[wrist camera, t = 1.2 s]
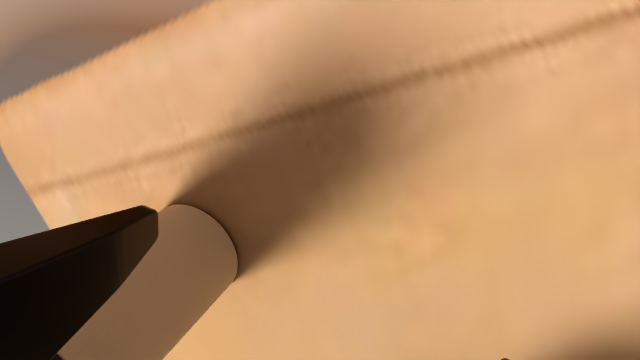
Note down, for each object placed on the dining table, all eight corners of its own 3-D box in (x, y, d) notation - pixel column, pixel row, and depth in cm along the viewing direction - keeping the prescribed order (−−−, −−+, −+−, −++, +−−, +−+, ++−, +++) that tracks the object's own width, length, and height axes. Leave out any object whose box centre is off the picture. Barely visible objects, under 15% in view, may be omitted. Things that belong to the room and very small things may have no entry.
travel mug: (182, 182, 29) (-147, 378, 14) (258, 257, 30) (14, 531, 14) (143, 238, 34) (-144, 436, 18) (210, 303, 34) (-19, 553, 18)
